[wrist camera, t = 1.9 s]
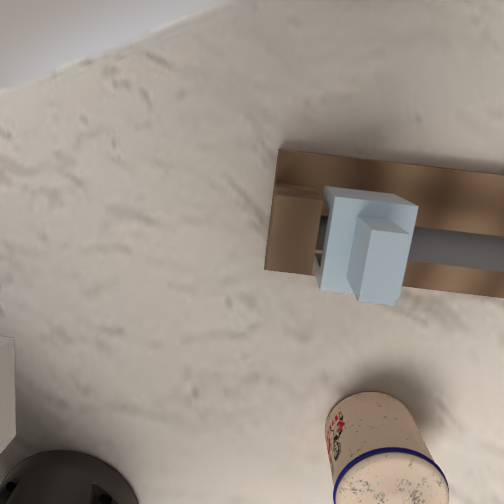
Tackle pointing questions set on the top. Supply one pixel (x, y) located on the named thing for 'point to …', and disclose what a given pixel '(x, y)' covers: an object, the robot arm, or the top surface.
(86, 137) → the top surface
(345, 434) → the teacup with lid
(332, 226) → the light blue slider block
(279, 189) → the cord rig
